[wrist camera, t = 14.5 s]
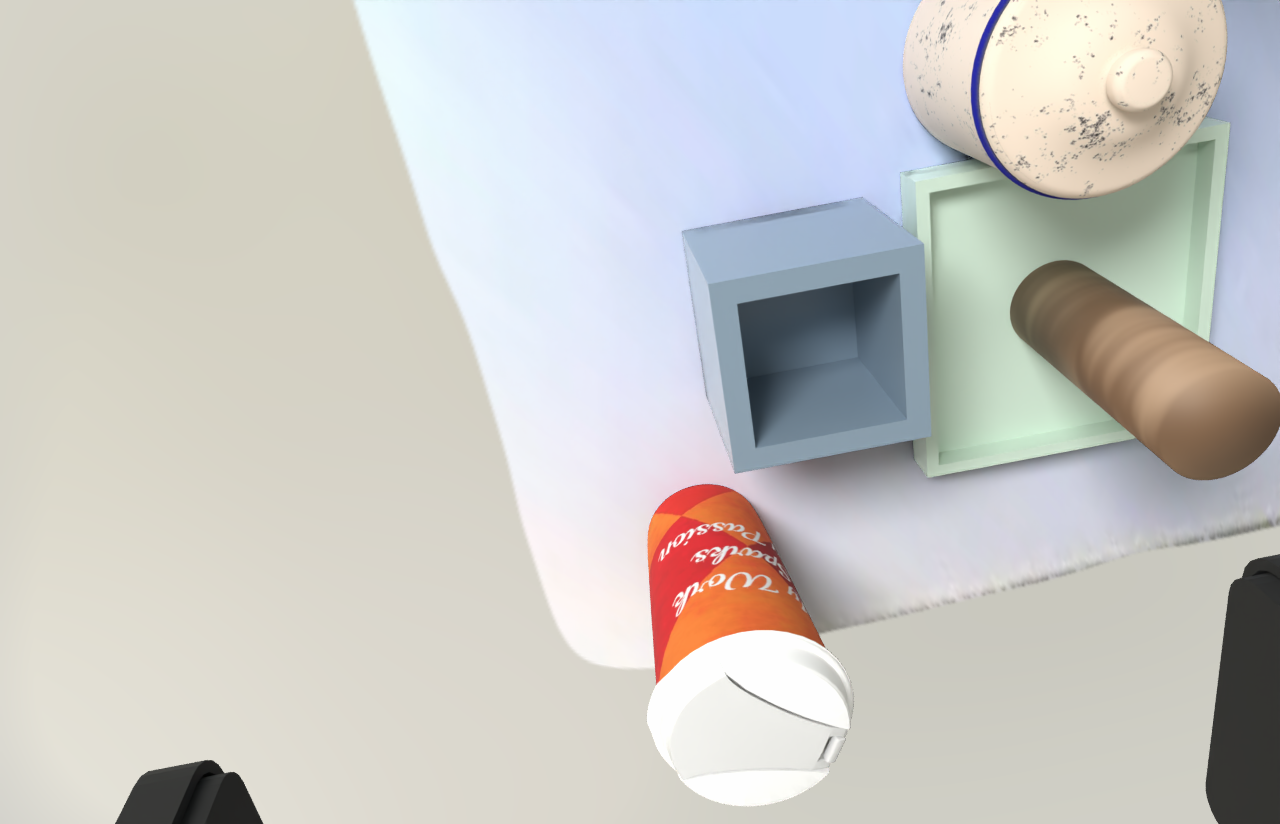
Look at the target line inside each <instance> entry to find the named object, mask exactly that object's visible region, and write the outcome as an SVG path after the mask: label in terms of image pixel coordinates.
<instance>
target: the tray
mask: <svg viewBox="0 0 1280 824" xmlns="http://www.w3.org/2000/svg"><path fill="white" fill-rule="evenodd" d="M1229 132H1230V123H1229V122H1225V121H1221V120H1217V119H1212V118H1208V117H1205V118H1204V120H1203V121H1202V123H1201V124H1200V126H1199V127H1198V129H1197V130H1196V132H1195V133H1194V134H1193V136H1192V137H1191V138H1190V140H1189V141H1188V142H1187V143H1186V144H1185V145H1184V146H1183V148H1182V149H1181V150H1180V151H1179V152H1178V153H1177V154H1176V155H1175V156H1174V157H1173V158H1172V159H1171V160H1169V161H1168V162H1167V163H1166V164H1165V165H1163V166H1162V167H1161V168H1160V169H1158V170H1157V171H1155V172H1154V173H1153V174H1151V175H1150V176H1148V177H1146V178H1145V179H1143V180H1141V181H1140V182H1138V183H1136V184H1134V185H1132V186H1130V187H1128V188H1125V189H1123V190H1120V191H1117V192H1114V193H1111V194H1107V195H1104V196H1099V197H1094V198H1089V199H1080V200H1062V199H1053V198H1049V197H1044V196H1041V195H1038V194H1035V193H1032V192H1030V191H1028V190H1026V189H1024V188H1022V187H1020V186H1018V185H1017V184H1015V183H1014V182H1012V181H1011V180H1010V179H1008V178H1007V177H1006V176H1005V175H1004V174H1003V173H1002V172H1001V171H1000V170H999V169H997V168H994V167H992V166H990V165H988V164H986V163H984V162H981V161H979V160H977V159H970V160H965V161H960V162H954V163H949V164H944V165H938V166H933V167H928V168H922V169H917V170H911V171H906V172H901V173H900V180H901V201H902V221H903V228H904V229H905V230H907V231H908V232H909V233H911V234H912V235H913V236H915V237H916V238H917V239H919V240H920V241H921V242H923V243H924V254H925V280H926V306H927V332H928V358H929V384H930V410H931V437H926V438H921V439H916V440H913V450H914V460H915V461H916V463H917V464H918V466H919V467H920V468H921V470H922V471H923V472H924V474H925V475H926V476H927V478H930V477H935V476H941V475H946V474H951V473H956V472H962V471H967V470H972V469H977V468H983V467H988V466H993V465H999V464H1004V463H1009V462H1014V461H1020V460H1025V459H1030V458H1035V457H1041V456H1046V455H1051V454H1057V453H1062V452H1067V451H1072V450H1078V449H1083V448H1088V447H1093V446H1099V445H1104V444H1109V443H1115V442H1120V441H1125V440H1130V439H1136V437H1134V436H1133V435H1132V434H1131V433H1130V432H1129V431H1127V430H1126V429H1125V428H1124V427H1123V426H1122V425H1121V424H1119V423H1118V422H1117V421H1116V420H1115V419H1114V418H1112V417H1111V416H1110V415H1109V414H1108V413H1107V412H1105V411H1104V410H1103V409H1102V408H1101V407H1100V406H1099V405H1097V404H1096V403H1095V402H1094V401H1093V400H1092V399H1090V398H1089V397H1088V396H1087V395H1086V394H1085V393H1083V392H1082V391H1081V390H1080V389H1079V388H1078V387H1077V386H1075V385H1074V384H1073V383H1072V382H1071V381H1070V380H1068V379H1067V378H1066V377H1065V376H1064V375H1063V374H1061V373H1060V372H1059V371H1058V370H1057V369H1056V368H1055V367H1053V366H1052V365H1051V364H1050V363H1049V362H1048V361H1046V360H1045V359H1044V358H1043V357H1042V356H1041V355H1039V354H1038V353H1037V352H1036V351H1035V350H1034V349H1033V348H1031V347H1030V346H1029V345H1028V344H1027V343H1026V342H1024V341H1023V340H1022V339H1021V338H1020V337H1019V336H1018V335H1017V334H1016V332H1015V331H1014V329H1013V327H1012V324H1011V320H1010V306H1011V301H1012V298H1013V296H1014V293H1015V291H1016V290H1017V288H1018V286H1019V285H1020V284H1021V282H1022V281H1023V280H1024V279H1025V278H1026V277H1027V276H1028V275H1029V274H1030V273H1031V272H1033V271H1034V270H1036V269H1037V268H1039V267H1041V266H1042V265H1045V264H1047V263H1050V262H1054V261H1059V260H1070V261H1076V262H1079V263H1081V264H1083V265H1085V266H1087V267H1088V268H1090V269H1092V270H1093V271H1095V272H1096V273H1098V274H1100V275H1101V276H1103V277H1104V278H1106V279H1108V280H1109V281H1111V282H1113V283H1114V284H1116V285H1117V286H1119V287H1121V288H1122V289H1124V290H1125V291H1127V292H1129V293H1130V294H1132V295H1134V296H1135V297H1137V298H1138V299H1140V300H1142V301H1143V302H1145V303H1146V304H1148V305H1150V306H1151V307H1153V308H1155V309H1156V310H1158V311H1159V312H1161V313H1163V314H1164V315H1166V316H1167V317H1169V318H1171V319H1172V320H1174V321H1176V322H1177V323H1179V324H1180V325H1182V326H1184V327H1185V328H1187V329H1188V330H1190V331H1192V332H1193V333H1195V334H1197V335H1198V336H1200V337H1201V338H1203V339H1205V340H1206V341H1208V342H1209V336H1210V326H1211V316H1212V306H1213V296H1214V285H1215V275H1216V265H1217V255H1218V245H1219V234H1220V224H1221V214H1222V204H1223V194H1224V183H1225V173H1226V163H1227V153H1228V143H1229Z"/></svg>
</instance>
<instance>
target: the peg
mask: <svg viewBox="0 0 1280 824" xmlns="http://www.w3.org/2000/svg"><path fill="white" fill-rule="evenodd" d="M1010 320H1011V324H1012V327H1013V329H1014V331H1015V332H1016V334H1017V335H1018V336H1019V337H1020V338H1021V339H1022V340H1023V341H1024V342H1026V343H1027V344H1028V345H1029V346H1030V347H1031V348H1033V349H1034V350H1035V351H1036V352H1037V353H1038V354H1039V355H1041V356H1042V357H1043V358H1044V359H1045V360H1046V361H1048V362H1049V363H1050V364H1051V365H1052V366H1053V367H1055V368H1056V369H1057V370H1058V371H1059V372H1060V373H1061V374H1063V375H1064V376H1065V377H1066V378H1067V379H1068V380H1070V381H1071V382H1072V383H1073V384H1074V385H1075V386H1077V387H1078V388H1079V389H1080V390H1081V391H1082V392H1083V393H1085V394H1086V395H1087V396H1088V397H1089V398H1090V399H1092V400H1093V401H1094V402H1095V403H1096V404H1097V405H1099V406H1100V407H1101V408H1102V409H1103V410H1104V411H1105V412H1107V413H1108V414H1109V415H1110V416H1111V417H1112V418H1114V419H1115V420H1116V421H1117V422H1118V423H1119V424H1121V425H1122V426H1123V427H1124V428H1125V429H1126V430H1127V431H1129V432H1130V433H1131V434H1132V435H1133V436H1134V437H1136V438H1137V439H1138V440H1139V441H1140V442H1141V443H1143V444H1144V445H1145V446H1146V447H1147V448H1148V449H1149V450H1151V451H1152V452H1153V453H1154V454H1155V455H1156V456H1158V457H1159V458H1160V459H1161V460H1162V461H1163V462H1165V463H1166V464H1167V465H1168V466H1169V467H1170V468H1171V469H1173V470H1174V471H1175V472H1176V473H1178V474H1180V475H1181V476H1184V477H1186V478H1190V479H1194V480H1213V479H1218V478H1222V477H1226V476H1229V475H1231V474H1234V473H1236V472H1238V471H1240V470H1242V469H1243V468H1245V467H1247V466H1248V465H1249V464H1251V463H1252V462H1254V461H1255V460H1256V459H1257V458H1258V457H1259V456H1260V455H1261V454H1262V453H1263V452H1264V451H1265V450H1266V449H1267V448H1268V446H1269V445H1270V444H1271V442H1272V441H1273V439H1274V437H1275V436H1276V434H1277V432H1278V430H1279V427H1280V393H1279V391H1278V389H1277V388H1276V386H1275V385H1274V384H1273V383H1272V382H1271V381H1270V380H1269V379H1267V378H1266V377H1264V376H1263V375H1261V374H1260V373H1258V372H1256V371H1255V370H1253V369H1252V368H1250V367H1248V366H1247V365H1245V364H1243V363H1242V362H1240V361H1239V360H1237V359H1235V358H1234V357H1232V356H1231V355H1229V354H1227V353H1226V352H1224V351H1222V350H1221V349H1219V348H1218V347H1216V346H1214V345H1213V344H1211V343H1209V342H1208V341H1206V340H1205V339H1203V338H1201V337H1200V336H1198V335H1197V334H1195V333H1193V332H1192V331H1190V330H1188V329H1187V328H1185V327H1184V326H1182V325H1180V324H1179V323H1177V322H1176V321H1174V320H1172V319H1171V318H1169V317H1167V316H1166V315H1164V314H1163V313H1161V312H1159V311H1158V310H1156V309H1155V308H1153V307H1151V306H1150V305H1148V304H1146V303H1145V302H1143V301H1142V300H1140V299H1138V298H1137V297H1135V296H1134V295H1132V294H1130V293H1129V292H1127V291H1125V290H1124V289H1122V288H1121V287H1119V286H1117V285H1116V284H1114V283H1113V282H1111V281H1109V280H1108V279H1106V278H1104V277H1103V276H1101V275H1100V274H1098V273H1096V272H1095V271H1093V270H1092V269H1090V268H1088V267H1087V266H1085V265H1083V264H1081V263H1079V262H1076V261H1070V260H1059V261H1054V262H1050V263H1047V264H1045V265H1042V266H1041V267H1039V268H1037V269H1036V270H1034V271H1033V272H1031V273H1030V274H1029V275H1028V276H1027V277H1026V278H1025V279H1024V280H1023V281H1022V282H1021V284H1020V285H1019V286H1018V288H1017V290H1016V291H1015V293H1014V296H1013V298H1012V301H1011V306H1010Z"/></svg>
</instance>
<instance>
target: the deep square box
mask: <svg viewBox="0 0 1280 824" xmlns="http://www.w3.org/2000/svg"><path fill="white" fill-rule="evenodd" d="M682 237H683V244H684V250H685V257H686V264H687V270H688V277H689V284H690V290H691V297H692V304H693V310H694V317H695V323H696V330H697V337H698V343H699V350H700V357H701V363H702V370H703V377H704V383H705V390H706V396H707V399H708V402H709V404H710V407H711V410H712V413H713V415H714V418H715V421H716V424H717V426H718V429H719V432H720V435H721V437H722V440H723V443H724V445H725V448H726V451H727V454H728V456H729V459H730V462H731V465H732V467H733V470H734V473H735V474H736V473H741V472H747V471H752V470H757V469H762V468H768V467H773V466H778V465H783V464H789V463H794V462H799V461H805V460H810V459H815V458H820V457H826V456H831V455H836V454H842V453H847V452H852V451H857V450H863V449H868V448H873V447H879V446H884V445H889V444H894V443H900V442H905V441H910V440H916V439H921V438H926V437H931V410H930V384H929V358H928V332H927V306H926V280H925V254H924V243H923V242H921V241H920V240H919V239H917V238H916V237H915V236H913V235H912V234H911V233H909V232H908V231H907V230H905V229H904V228H903V227H901V226H900V225H899V224H897V223H896V222H895V221H893V220H892V219H891V218H889V217H888V216H887V215H885V214H884V213H883V212H881V211H880V210H879V209H877V208H876V207H875V206H873V205H872V204H871V203H869V202H868V201H867V200H865V199H864V198H863V197H861V198H856V199H850V200H845V201H840V202H834V203H829V204H824V205H818V206H813V207H808V208H802V209H797V210H792V211H786V212H781V213H776V214H770V215H765V216H760V217H754V218H749V219H744V220H738V221H733V222H728V223H722V224H717V225H712V226H706V227H701V228H696V229H690V230H685V231H682Z"/></svg>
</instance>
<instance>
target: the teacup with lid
mask: <svg viewBox="0 0 1280 824" xmlns="http://www.w3.org/2000/svg"><path fill="white" fill-rule="evenodd" d="M1226 52H1227V26H1226V17H1225V12H1224V7H1223V4H1222V1H1221V0H922V1H921V2H920V4H919V6H918V8H917V10H916V12H915V14H914V16H913V19H912V21H911V24H910V27H909V30H908V33H907V37H906V41H905V46H904V54H903V77H904V84H905V89H906V93H907V97H908V99H909V102H910V105H911V107H912V109H913V111H914V113H915V115H916V116H917V118H918V120H919V121H920V122H921V124H922V125H923V126H924V127H925V128H926V129H927V131H928V132H929V133H930V134H931V135H933V136H934V137H935V138H936V139H938V140H939V141H940V142H942V143H944V144H945V145H947V146H949V147H951V148H953V149H955V150H957V151H960V152H962V153H964V154H966V155H968V156H970V157H973V158H975V159H977V160H979V161H981V162H984V163H986V164H988V165H990V166H992V167H994V168H997V169H999V170H1000V171H1001V172H1002V173H1003V174H1004V175H1005V176H1006V177H1007V178H1008V179H1010V180H1011V181H1012V182H1014V183H1015V184H1017V185H1018V186H1020V187H1022V188H1024V189H1026V190H1028V191H1030V192H1032V193H1035V194H1038V195H1041V196H1044V197H1049V198H1053V199H1062V200H1080V199H1089V198H1094V197H1099V196H1104V195H1107V194H1111V193H1114V192H1117V191H1120V190H1123V189H1125V188H1128V187H1130V186H1132V185H1134V184H1136V183H1138V182H1140V181H1141V180H1143V179H1145V178H1146V177H1148V176H1150V175H1151V174H1153V173H1154V172H1155V171H1157V170H1158V169H1160V168H1161V167H1162V166H1163V165H1165V164H1166V163H1167V162H1168V161H1169V160H1171V159H1172V158H1173V157H1174V156H1175V155H1176V154H1177V153H1178V152H1179V151H1180V150H1181V149H1182V148H1183V146H1184V145H1185V144H1186V143H1187V142H1188V141H1189V140H1190V138H1191V137H1192V136H1193V134H1194V133H1195V132H1196V130H1197V129H1198V127H1199V126H1200V124H1201V123H1202V121H1203V120H1204V118H1205V116H1206V115H1207V113H1208V111H1209V109H1210V107H1211V105H1212V103H1213V101H1214V98H1215V96H1216V94H1217V91H1218V88H1219V85H1220V82H1221V79H1222V75H1223V71H1224V66H1225V60H1226Z"/></svg>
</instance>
